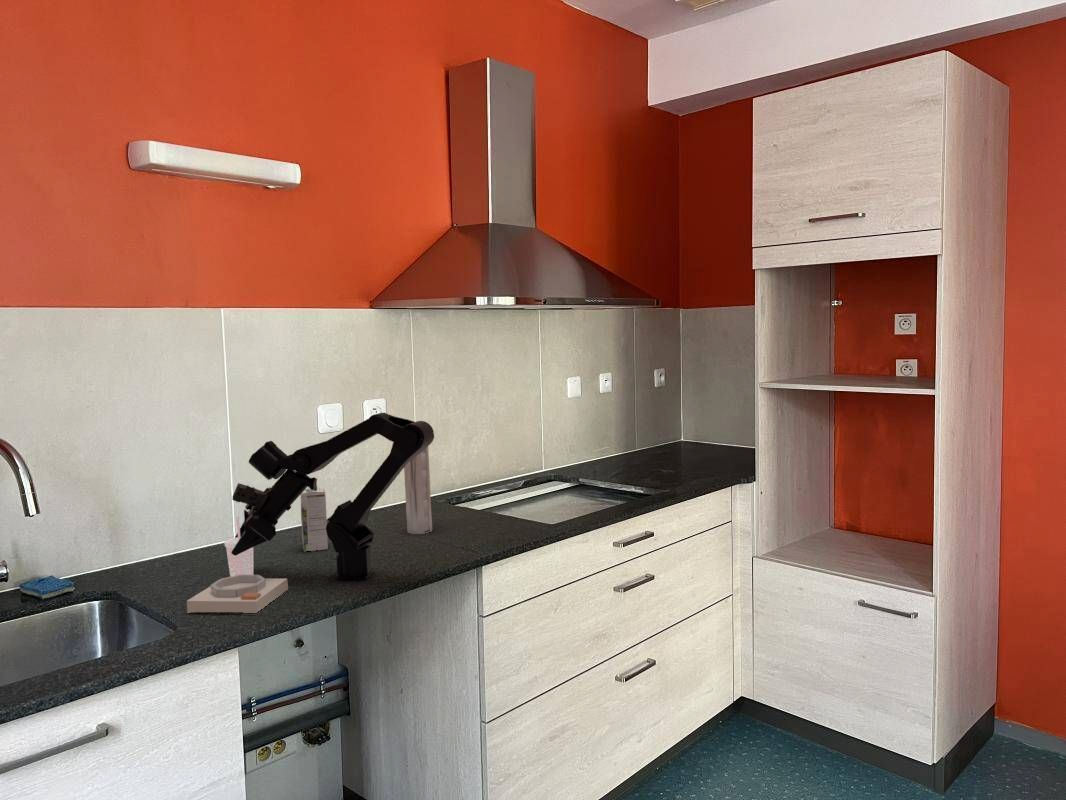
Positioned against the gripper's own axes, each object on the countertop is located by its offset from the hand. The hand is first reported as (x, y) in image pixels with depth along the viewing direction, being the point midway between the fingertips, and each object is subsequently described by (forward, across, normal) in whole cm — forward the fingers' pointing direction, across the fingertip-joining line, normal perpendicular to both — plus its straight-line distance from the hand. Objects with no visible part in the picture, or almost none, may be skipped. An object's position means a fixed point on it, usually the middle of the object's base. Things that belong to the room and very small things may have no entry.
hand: (233, 549), depth 175 cm
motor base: (+4, +14, +6) cm, 16 cm away
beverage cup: (+4, 0, +6) cm, 7 cm away
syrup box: (-8, -20, +18) cm, 29 cm away
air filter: (-27, -25, +37) cm, 52 cm away
